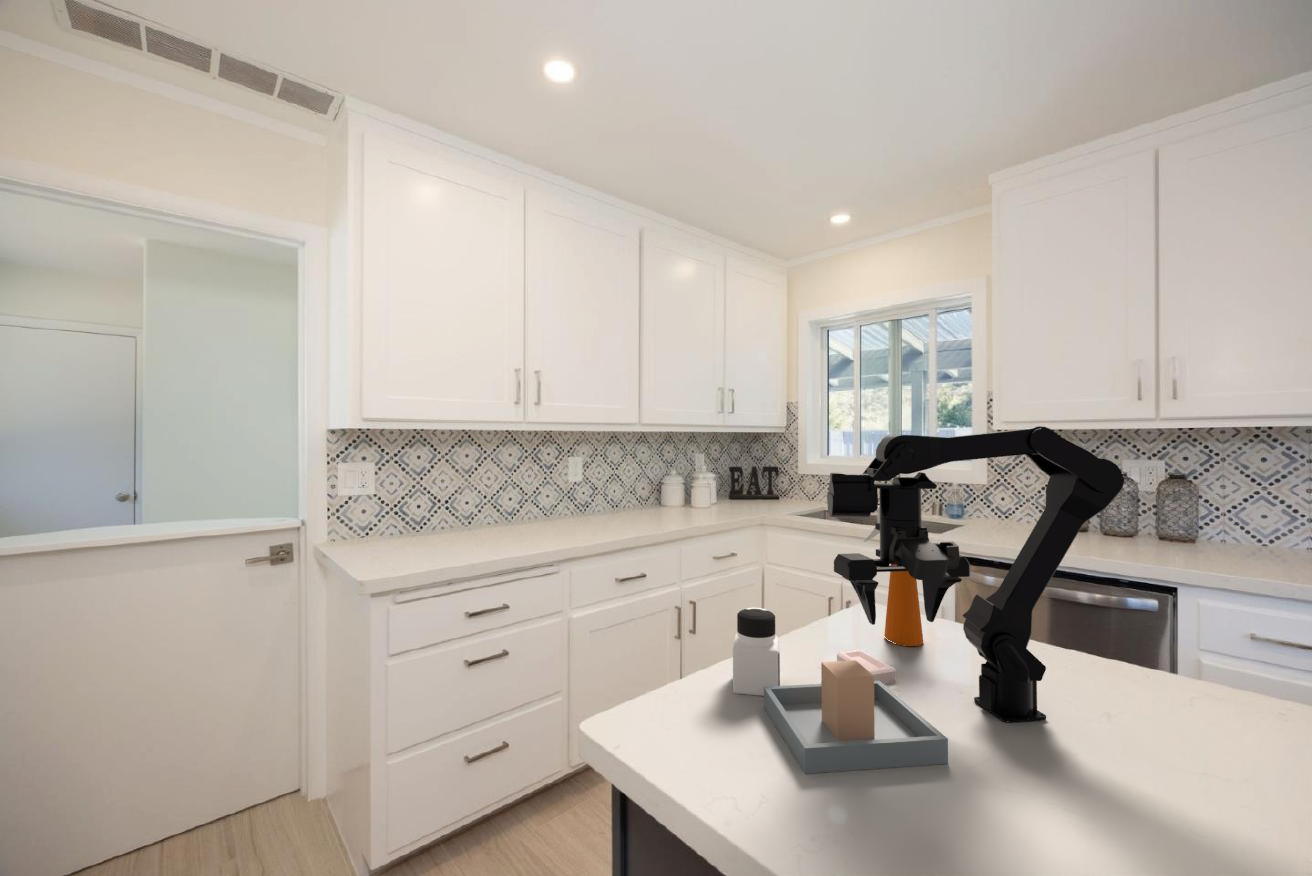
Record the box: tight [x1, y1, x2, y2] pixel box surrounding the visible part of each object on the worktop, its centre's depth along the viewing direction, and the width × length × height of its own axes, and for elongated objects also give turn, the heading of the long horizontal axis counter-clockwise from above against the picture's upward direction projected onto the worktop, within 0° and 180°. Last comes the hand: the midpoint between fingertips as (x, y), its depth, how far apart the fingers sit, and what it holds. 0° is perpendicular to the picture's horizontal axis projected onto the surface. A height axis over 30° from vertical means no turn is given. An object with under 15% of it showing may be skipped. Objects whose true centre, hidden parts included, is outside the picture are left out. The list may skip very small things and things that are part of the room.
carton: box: [820, 660, 875, 740], centre depth 72 cm, size 5×5×8 cm
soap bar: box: [836, 649, 897, 684], centre depth 91 cm, size 5×9×2 cm, turn 17°
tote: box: [763, 681, 949, 775], centre depth 72 cm, size 18×16×3 cm
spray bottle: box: [863, 504, 924, 647], centre depth 107 cm, size 7×11×26 cm, turn 55°
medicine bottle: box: [732, 607, 781, 697], centre depth 86 cm, size 7×7×12 cm
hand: (901, 622), depth 80 cm, fingers open, 9 cm apart
